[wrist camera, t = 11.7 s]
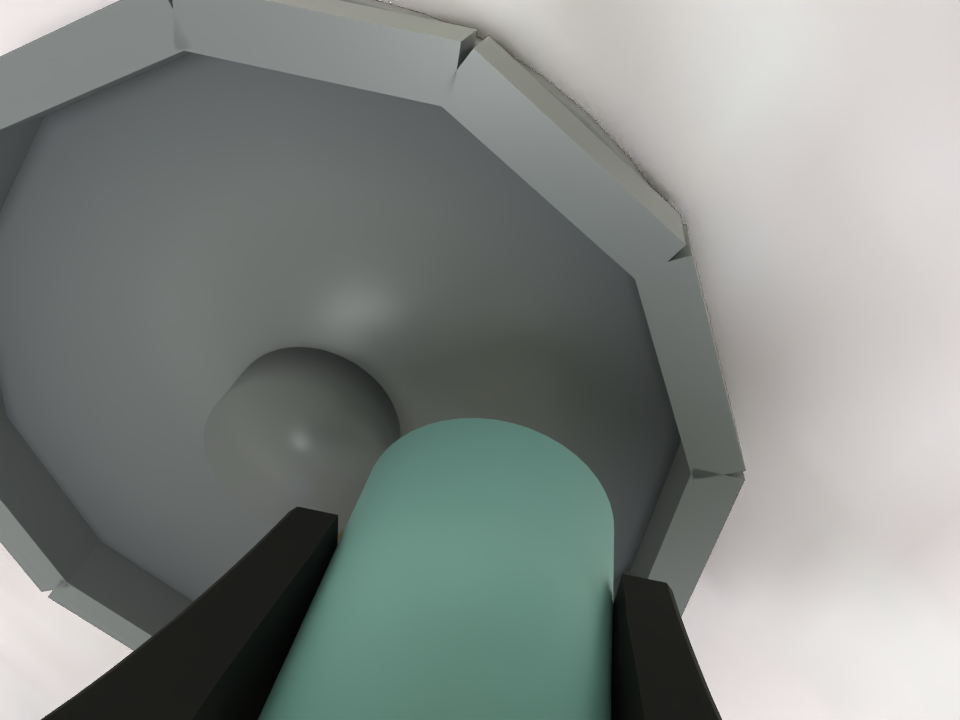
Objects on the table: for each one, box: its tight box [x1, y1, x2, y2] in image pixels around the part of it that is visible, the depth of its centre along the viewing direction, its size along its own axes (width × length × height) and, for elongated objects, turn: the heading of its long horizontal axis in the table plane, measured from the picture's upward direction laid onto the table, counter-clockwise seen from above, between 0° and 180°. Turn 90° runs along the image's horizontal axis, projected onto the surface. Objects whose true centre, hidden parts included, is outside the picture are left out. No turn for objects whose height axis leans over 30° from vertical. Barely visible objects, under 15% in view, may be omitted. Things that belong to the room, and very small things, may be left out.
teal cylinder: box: [258, 418, 614, 720], centre depth 10 cm, size 4×4×5 cm
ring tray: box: [0, 0, 746, 650], centre depth 17 cm, size 18×18×2 cm
